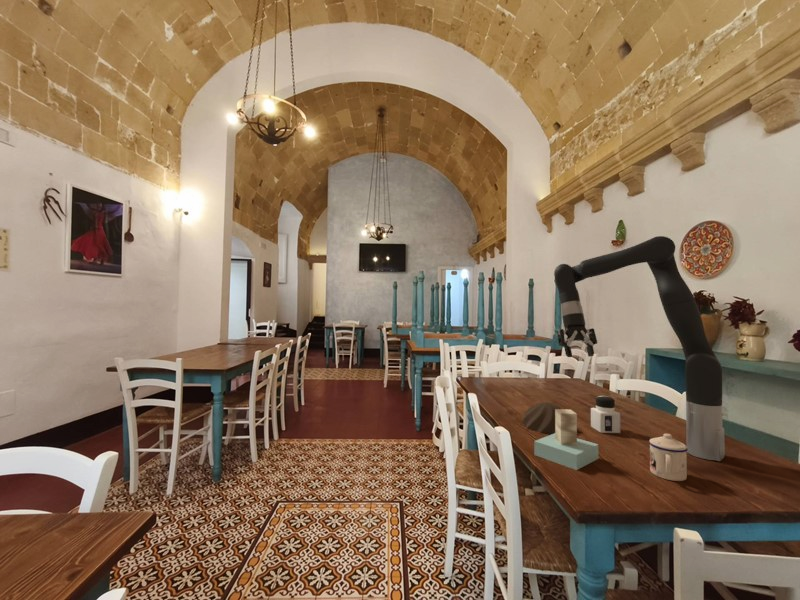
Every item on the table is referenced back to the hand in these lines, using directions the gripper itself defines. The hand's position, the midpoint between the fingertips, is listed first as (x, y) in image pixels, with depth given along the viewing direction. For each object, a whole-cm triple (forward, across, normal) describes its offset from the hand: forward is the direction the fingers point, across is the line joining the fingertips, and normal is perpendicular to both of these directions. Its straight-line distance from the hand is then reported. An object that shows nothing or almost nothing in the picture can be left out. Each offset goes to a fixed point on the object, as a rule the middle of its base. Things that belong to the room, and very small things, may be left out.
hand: (580, 356), depth 137 cm
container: (+28, +15, +15) cm, 35 cm away
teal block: (+33, -16, -7) cm, 38 cm away
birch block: (+28, -16, -8) cm, 33 cm away
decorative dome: (+26, -6, +22) cm, 34 cm away
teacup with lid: (+38, +5, -22) cm, 44 cm away
